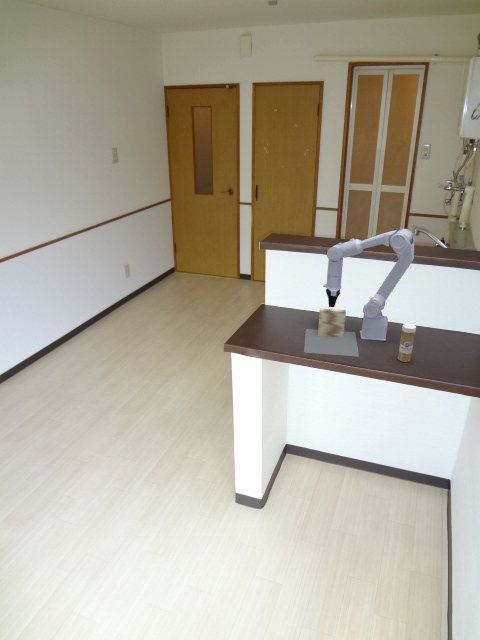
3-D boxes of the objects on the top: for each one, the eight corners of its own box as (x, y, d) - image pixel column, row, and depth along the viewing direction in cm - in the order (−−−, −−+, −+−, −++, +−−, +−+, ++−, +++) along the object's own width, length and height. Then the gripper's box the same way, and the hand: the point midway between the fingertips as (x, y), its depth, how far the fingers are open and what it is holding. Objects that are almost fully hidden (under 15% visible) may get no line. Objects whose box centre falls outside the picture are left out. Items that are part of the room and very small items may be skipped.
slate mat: (354, 333, 187) (355, 332, 187) (359, 357, 167) (359, 356, 167) (305, 329, 190) (305, 329, 190) (303, 353, 170) (303, 352, 170)
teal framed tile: (343, 335, 184) (345, 309, 180) (343, 337, 182) (345, 311, 178) (317, 333, 185) (319, 308, 181) (317, 335, 183) (319, 310, 179)
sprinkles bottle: (399, 362, 163) (405, 328, 158) (395, 356, 167) (400, 323, 162) (412, 362, 163) (418, 328, 158) (408, 356, 167) (413, 323, 162)
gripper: (324, 269, 190) (321, 300, 195) (324, 279, 177) (321, 312, 182) (341, 270, 189) (338, 301, 194) (342, 280, 176) (339, 313, 181)
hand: (331, 306), depth 188 cm, fingers closed
